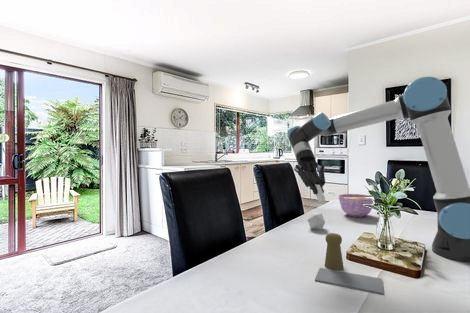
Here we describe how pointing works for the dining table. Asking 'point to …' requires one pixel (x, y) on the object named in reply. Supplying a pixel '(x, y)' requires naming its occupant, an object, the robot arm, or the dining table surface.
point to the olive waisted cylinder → (333, 252)
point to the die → (316, 221)
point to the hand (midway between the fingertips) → (322, 200)
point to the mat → (350, 280)
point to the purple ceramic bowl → (355, 204)
